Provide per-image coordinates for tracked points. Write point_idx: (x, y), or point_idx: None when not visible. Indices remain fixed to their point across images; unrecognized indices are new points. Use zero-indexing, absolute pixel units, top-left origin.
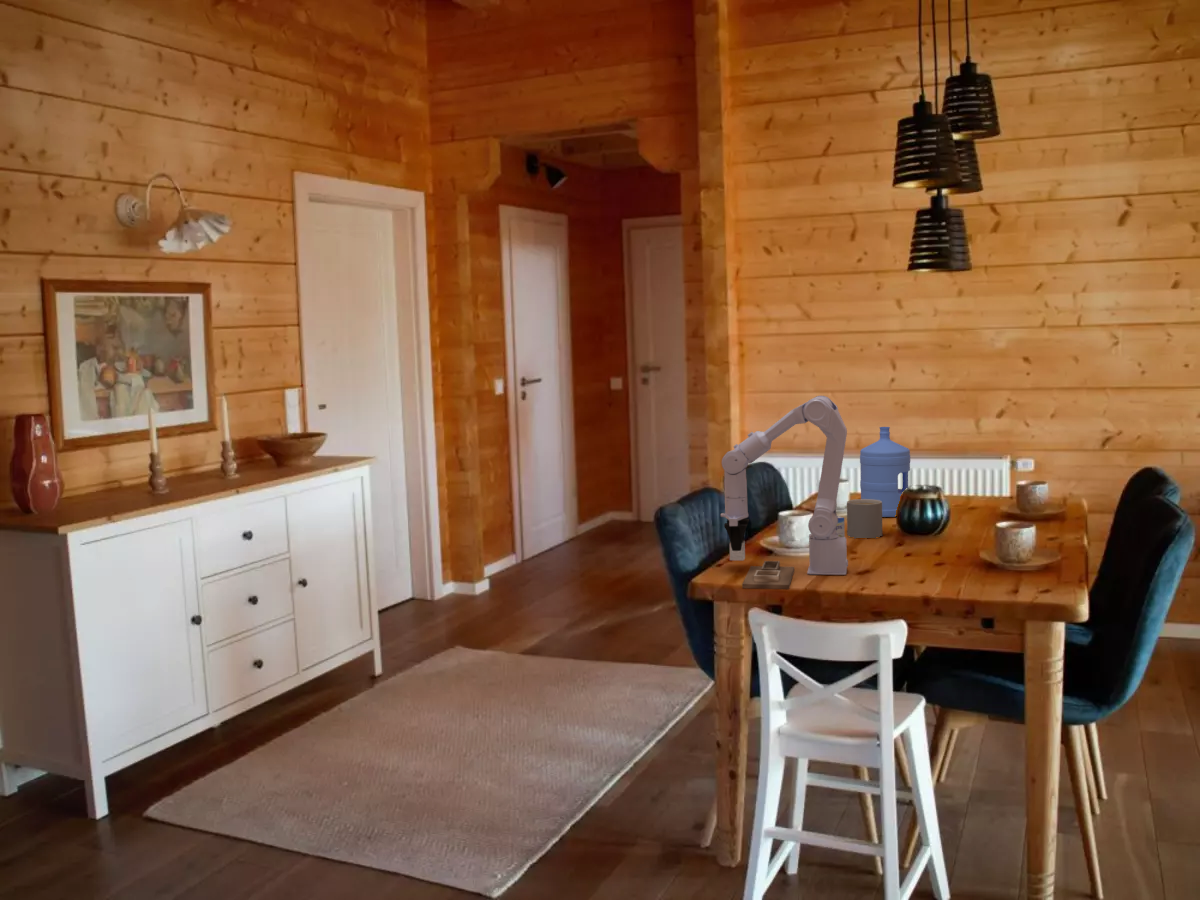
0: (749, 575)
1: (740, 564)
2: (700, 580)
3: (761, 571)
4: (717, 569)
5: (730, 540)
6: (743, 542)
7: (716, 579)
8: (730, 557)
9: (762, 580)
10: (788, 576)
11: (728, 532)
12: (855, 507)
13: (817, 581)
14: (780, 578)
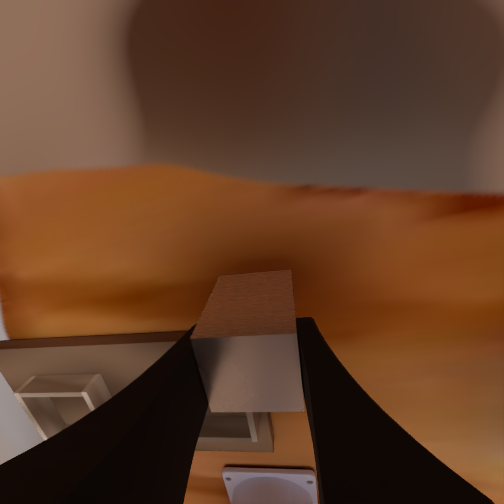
0: (102, 353)
1: (360, 272)
2: (14, 178)
3: (89, 403)
4: (236, 194)
5: (147, 370)
6: (237, 411)
7: (61, 238)
8: (216, 286)
9: (39, 398)
10: None
11: (70, 435)
12: None
13: None
14: None
